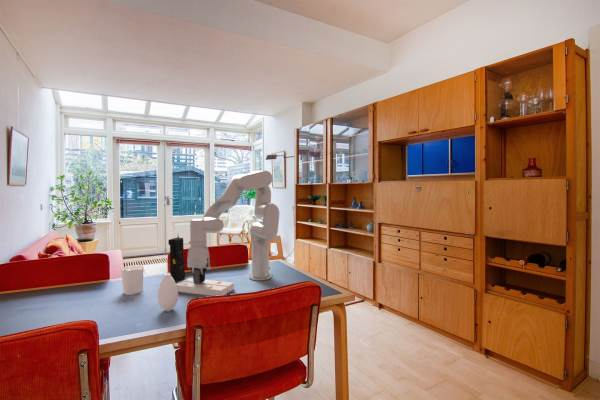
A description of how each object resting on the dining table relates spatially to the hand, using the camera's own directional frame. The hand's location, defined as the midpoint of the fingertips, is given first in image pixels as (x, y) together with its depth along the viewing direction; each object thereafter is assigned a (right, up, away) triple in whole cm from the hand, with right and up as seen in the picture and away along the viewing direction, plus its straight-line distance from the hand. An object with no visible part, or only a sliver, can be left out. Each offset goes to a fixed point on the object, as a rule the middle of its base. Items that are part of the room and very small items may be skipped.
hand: (199, 280), depth 155 cm
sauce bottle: (-5, -7, -23) cm, 25 cm away
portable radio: (-18, -4, +19) cm, 27 cm away
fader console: (+3, -5, -1) cm, 6 cm away
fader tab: (0, -4, 0) cm, 4 cm away
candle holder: (-32, -5, -1) cm, 32 cm away
